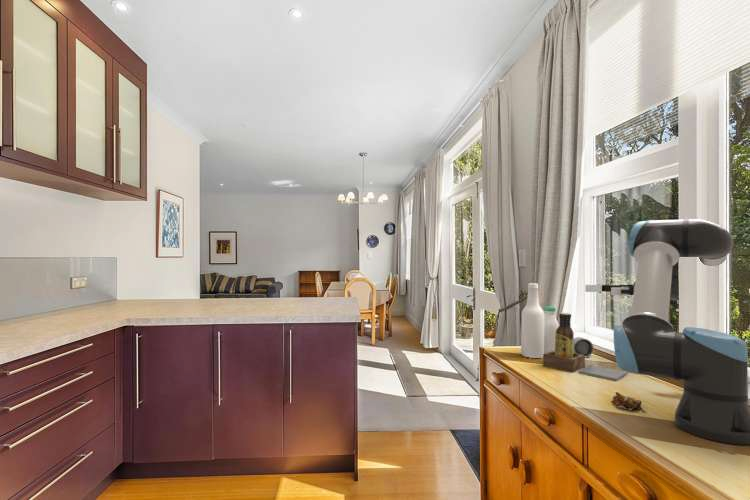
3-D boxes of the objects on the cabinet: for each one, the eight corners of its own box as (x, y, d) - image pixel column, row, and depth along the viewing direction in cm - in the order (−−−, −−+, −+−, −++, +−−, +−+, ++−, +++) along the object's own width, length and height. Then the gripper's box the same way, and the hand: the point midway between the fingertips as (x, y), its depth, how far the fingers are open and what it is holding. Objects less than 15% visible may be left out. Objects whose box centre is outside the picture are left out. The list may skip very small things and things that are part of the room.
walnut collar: (573, 372, 143) (573, 359, 143) (543, 366, 151) (543, 354, 151) (584, 367, 150) (584, 355, 150) (555, 361, 158) (555, 349, 158)
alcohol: (517, 356, 165) (518, 283, 166) (525, 352, 172) (526, 282, 172) (539, 360, 159) (540, 284, 160) (547, 356, 166) (547, 283, 167)
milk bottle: (562, 354, 170) (562, 307, 170) (555, 357, 164) (555, 308, 164) (543, 351, 175) (543, 305, 175) (536, 354, 169) (536, 306, 170)
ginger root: (628, 399, 117) (628, 386, 117) (647, 414, 106) (647, 400, 106) (602, 397, 119) (602, 384, 119) (618, 412, 107) (619, 398, 107)
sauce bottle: (550, 365, 152) (551, 312, 153) (563, 363, 155) (563, 311, 155) (564, 369, 146) (565, 314, 147) (577, 368, 149) (577, 314, 149)
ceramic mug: (587, 353, 173) (587, 335, 173) (594, 358, 165) (593, 339, 165) (560, 352, 175) (560, 334, 175) (566, 357, 166) (566, 338, 167)
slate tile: (616, 381, 133) (616, 378, 133) (578, 373, 142) (578, 370, 142) (627, 374, 141) (627, 372, 141) (590, 367, 150) (590, 365, 150)
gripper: (677, 303, 142) (623, 303, 139) (623, 296, 167) (576, 296, 163) (677, 282, 142) (623, 281, 139) (623, 278, 167) (576, 277, 164)
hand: (598, 289), depth 151 cm, fingers open, 13 cm apart
